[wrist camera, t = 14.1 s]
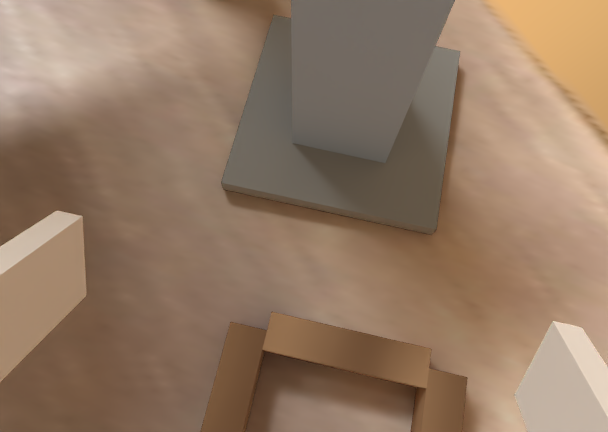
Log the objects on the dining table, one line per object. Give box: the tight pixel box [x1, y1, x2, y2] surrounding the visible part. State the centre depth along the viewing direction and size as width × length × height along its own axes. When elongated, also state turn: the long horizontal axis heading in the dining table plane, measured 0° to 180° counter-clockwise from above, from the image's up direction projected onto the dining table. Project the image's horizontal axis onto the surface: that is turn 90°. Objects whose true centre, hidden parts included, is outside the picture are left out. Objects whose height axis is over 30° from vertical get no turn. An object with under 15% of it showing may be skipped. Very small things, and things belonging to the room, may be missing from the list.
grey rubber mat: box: [221, 15, 460, 235], centre depth 23 cm, size 10×10×1 cm
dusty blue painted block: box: [291, 0, 455, 163], centre depth 17 cm, size 4×4×10 cm
